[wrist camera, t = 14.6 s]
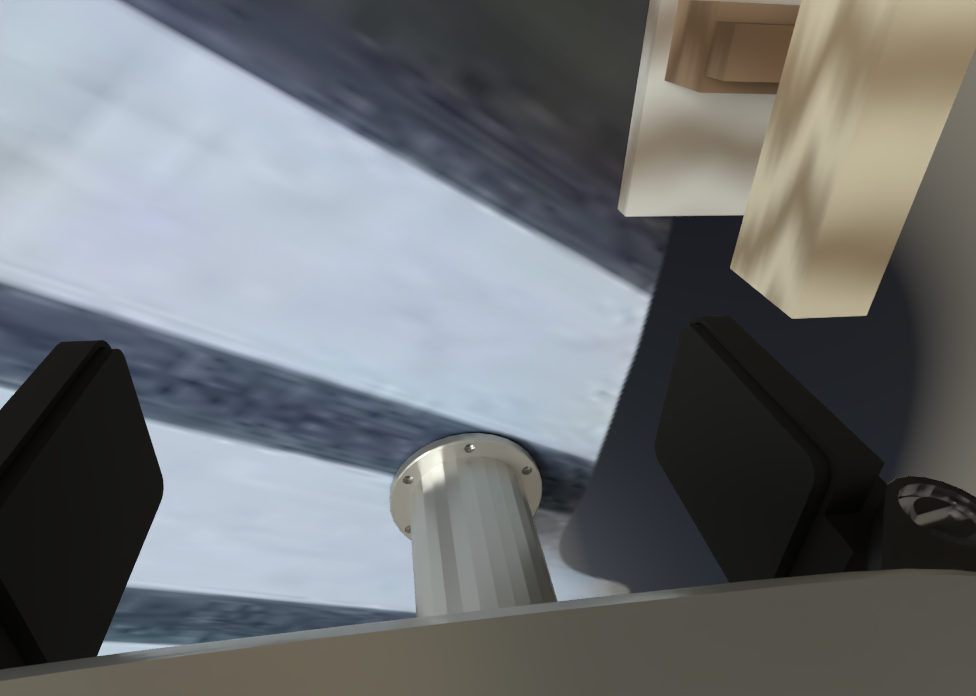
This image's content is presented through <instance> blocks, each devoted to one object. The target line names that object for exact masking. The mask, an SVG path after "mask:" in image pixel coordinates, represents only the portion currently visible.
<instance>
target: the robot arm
mask: <svg viewBox="0 0 976 696" xmlns="http://www.w3.org/2000/svg"><path fill="white" fill-rule="evenodd" d="M655 451H656V456H657V459H658V461H659V463H660V465H661V466H662V468H663V470H664V472H665V473H666V475H667V477H668V478H669V480H670V482H671V484H672V485H673V487H674V489H675V490H676V492H677V494H678V495H679V497H680V499H681V501H682V502H683V504H684V505H685V507H686V509H687V511H688V513H689V514H690V516H691V518H692V519H693V521H694V523H695V524H696V526H697V528H698V530H699V531H700V533H701V535H702V536H703V538H704V540H705V541H706V543H707V545H708V547H709V548H710V550H711V552H712V553H713V555H714V557H715V558H716V560H717V562H718V564H719V565H720V567H721V569H722V570H723V572H724V574H725V575H726V577H727V579H728V581H729V582H730V583H725V584H716V585H707V586H697V587H688V588H679V589H671V590H670V589H669V590H661V591H651V592H641V593H632V594H623V595H614V596H605V597H595V598H586V599H577V600H568V601H559V602H558V601H557V598H556V595H555V591H554V588H553V584H552V581H551V577H550V574H549V571H548V567H547V564H546V560H545V557H544V553H543V550H542V547H541V543H540V540H539V536H538V533H537V530H536V526H535V523H534V519H533V515H534V514H535V512H536V510H537V508H538V506H539V504H540V500H541V496H542V480H541V477H540V473H539V470H538V468H537V465H536V463H535V461H534V460H533V458H532V457H531V456H530V454H529V453H528V452H527V451H526V450H524V449H523V448H522V447H521V446H520V445H518V444H516V443H514V442H512V441H510V440H508V439H506V438H503V437H499V436H496V435H491V434H483V433H466V434H459V435H454V436H449V437H446V438H443V439H440V440H437V441H434V442H432V443H430V444H428V445H426V446H424V447H423V448H421V449H419V450H418V451H417V452H415V453H414V454H413V455H411V456H410V457H409V458H408V459H407V460H406V461H405V462H404V463H403V465H402V466H401V467H400V468H399V470H398V472H397V473H396V475H395V477H394V479H393V482H392V485H391V488H390V511H391V514H392V517H393V520H394V522H395V524H396V526H397V527H398V529H399V530H400V531H401V532H402V533H403V534H404V535H405V536H406V537H407V538H408V539H410V540H412V556H413V571H414V587H415V603H416V618H410V619H401V620H393V621H384V622H375V623H367V624H358V625H350V626H341V627H333V628H324V629H316V630H308V631H299V632H291V633H283V634H274V635H266V636H258V637H249V638H241V639H232V640H224V641H216V642H207V643H199V644H191V645H182V646H174V647H166V648H157V649H149V650H142V651H134V652H127V653H119V654H112V655H105V656H97V655H98V652H99V650H100V647H101V645H102V643H103V640H104V638H105V635H106V633H107V631H108V628H109V626H110V623H111V621H112V618H113V616H114V614H115V611H116V609H117V606H118V604H119V602H120V599H121V597H122V594H123V592H124V589H125V587H126V585H127V582H128V580H129V577H130V575H131V572H132V570H133V568H134V565H135V563H136V560H137V558H138V556H139V553H140V551H141V548H142V546H143V543H144V541H145V539H146V536H147V534H148V531H149V529H150V527H151V524H152V522H153V519H154V517H155V514H156V512H157V510H158V507H159V505H160V502H161V500H162V496H163V478H162V474H161V471H160V467H159V464H158V461H157V458H156V455H155V452H154V448H153V445H152V442H151V439H150V436H149V432H148V429H147V426H146V423H145V420H144V417H143V413H142V410H141V407H140V404H139V401H138V398H137V394H136V391H135V388H134V385H133V382H132V378H131V375H130V372H129V369H128V366H127V363H126V359H125V357H124V354H123V353H122V351H121V350H119V349H111V347H110V346H109V344H108V343H107V342H105V341H103V340H98V341H73V342H61V343H59V344H58V345H57V346H56V347H55V348H54V349H53V350H52V351H51V353H50V354H49V355H48V356H47V357H46V358H45V359H44V361H43V362H42V363H41V364H40V365H39V366H38V367H37V369H36V370H35V371H34V372H33V373H32V374H31V375H30V376H29V378H28V379H27V380H26V381H25V382H24V383H23V384H22V386H21V387H20V388H19V389H18V390H17V391H16V392H15V394H14V395H13V396H12V397H11V398H10V399H9V400H8V402H7V403H6V404H5V405H4V406H3V407H2V408H1V410H0V696H976V497H975V496H973V495H971V494H969V493H968V492H966V491H964V490H962V489H960V488H957V487H955V486H952V485H950V484H948V483H945V482H942V481H938V480H934V479H930V478H926V477H916V476H907V477H900V478H896V479H895V480H893V481H892V482H890V483H889V484H888V485H887V484H886V483H885V482H884V481H883V480H882V479H881V478H880V477H879V476H878V475H879V473H880V471H881V469H882V467H883V465H884V462H883V461H882V460H881V459H880V458H879V457H878V456H877V455H876V454H874V452H873V451H872V450H871V449H869V448H868V447H867V446H866V445H865V444H864V443H863V442H862V441H861V440H860V439H859V438H858V437H857V436H856V435H855V434H854V433H853V432H852V431H850V429H848V428H847V427H846V426H845V425H844V424H843V423H842V422H841V421H840V420H839V419H838V418H837V417H836V416H835V415H834V414H833V413H832V412H831V411H829V410H828V409H827V408H826V407H825V406H824V405H823V404H822V403H821V402H820V401H819V400H818V399H817V398H816V397H815V396H814V395H813V394H811V393H810V392H809V391H808V390H807V389H806V388H805V387H804V386H803V385H802V384H801V383H800V382H799V381H798V380H797V379H796V378H795V377H794V376H793V375H791V374H790V373H789V372H788V371H787V370H786V369H785V368H784V367H783V366H782V365H781V364H780V363H779V362H778V361H777V360H776V359H774V357H772V356H771V355H770V354H769V353H768V352H767V351H766V350H765V349H764V348H763V347H762V346H761V345H760V344H759V343H758V342H757V341H756V340H755V339H753V338H752V337H751V336H750V335H749V334H748V333H747V332H746V331H745V330H744V329H743V328H742V327H741V326H740V325H739V324H738V323H736V321H735V320H733V319H732V318H731V317H729V316H726V315H724V316H723V315H722V316H697V317H695V318H693V320H692V321H691V323H690V325H685V326H684V327H683V329H682V331H681V334H680V338H679V342H678V347H677V350H676V355H675V359H674V363H673V367H672V372H671V376H670V380H669V384H668V389H667V393H666V397H665V402H664V406H663V410H662V414H661V419H660V423H659V427H658V431H657V435H656V440H655Z"/></svg>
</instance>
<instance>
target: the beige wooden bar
mask: <svg viewBox="0 0 976 696" xmlns="http://www.w3.org/2000/svg"><path fill="white" fill-rule="evenodd" d="M975 50H976V0H802V1H801V4H800V8H799V12H798V16H797V19H796V23H795V27H794V31H793V34H792V38H791V42H790V46H789V49H788V53H787V57H786V61H785V64H784V68H783V72H782V76H781V79H780V83H779V87H778V91H777V94H776V98H775V102H774V105H773V109H772V113H771V117H770V120H769V124H768V128H767V132H766V135H765V139H764V143H763V147H762V150H761V154H760V158H759V162H758V165H757V169H756V173H755V177H754V180H753V184H752V188H751V192H750V195H749V199H748V203H747V207H746V210H745V214H744V218H743V222H742V225H741V229H740V233H739V237H738V240H737V244H736V248H735V251H734V255H733V259H732V263H731V266H730V269H732V270H733V271H734V272H735V273H736V274H738V275H739V276H740V277H741V278H743V279H744V280H745V281H747V282H748V283H749V284H750V285H751V286H752V287H754V288H755V289H756V290H757V291H759V292H760V293H761V294H762V295H764V296H765V297H766V298H767V299H768V300H770V301H771V302H772V303H773V304H775V305H776V306H777V307H778V308H780V309H781V310H782V311H783V312H784V313H786V314H787V315H788V316H789V317H791V318H792V319H795V318H818V317H819V318H820V317H844V316H866V315H867V313H868V310H869V308H870V306H871V303H872V301H873V298H874V296H875V294H876V291H877V289H878V286H879V284H880V281H881V279H882V276H883V274H884V272H885V269H886V267H887V264H888V262H889V259H890V257H891V254H892V252H893V250H894V247H895V245H896V242H897V240H898V237H899V235H900V232H901V230H902V228H903V225H904V223H905V220H906V218H907V215H908V213H909V211H910V208H911V206H912V203H913V201H914V198H915V196H916V194H917V191H918V189H919V186H920V184H921V181H922V179H923V176H924V174H925V171H926V169H927V166H928V164H929V162H930V159H931V157H932V154H933V152H934V150H935V147H936V145H937V142H938V140H939V137H940V135H941V133H942V130H943V128H944V125H945V123H946V120H947V118H948V115H949V113H950V111H951V108H952V106H953V103H954V101H955V98H956V96H957V94H958V91H959V89H960V86H961V84H962V81H963V79H964V77H965V74H966V71H967V69H968V67H969V64H970V62H971V59H972V57H973V54H974V52H975Z"/></svg>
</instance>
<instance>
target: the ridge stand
mask: <svg viewBox="0 0 976 696" xmlns="http://www.w3.org/2000/svg"><path fill="white" fill-rule="evenodd" d="M801 1H802V0H650V4H649V10H648V17H647V23H646V30H645V36H644V43H643V49H642V55H641V62H640V68H639V75H638V81H637V88H636V94H635V101H634V107H633V113H632V120H631V126H630V133H629V139H628V146H627V152H626V159H625V165H624V171H623V178H622V184H621V191H620V197H619V204H618V210H619V211H620V212H621V213H622V214H623V215H625V216H626V217H629V216H706V215H707V216H709V215H710V216H711V215H744V214H745V210H746V207H747V203H748V199H749V195H750V192H751V188H752V184H753V180H754V177H755V173H756V169H757V165H758V162H759V158H760V154H761V150H762V147H763V143H764V139H765V135H766V132H767V128H768V124H769V120H770V117H771V113H772V109H773V105H774V102H775V98H776V94H777V91H778V87H779V83H780V79H781V76H782V72H783V68H784V64H785V61H786V57H787V53H788V49H789V46H790V42H791V38H792V34H793V31H794V27H795V23H796V19H797V16H798V12H799V8H800V4H801Z"/></svg>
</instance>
